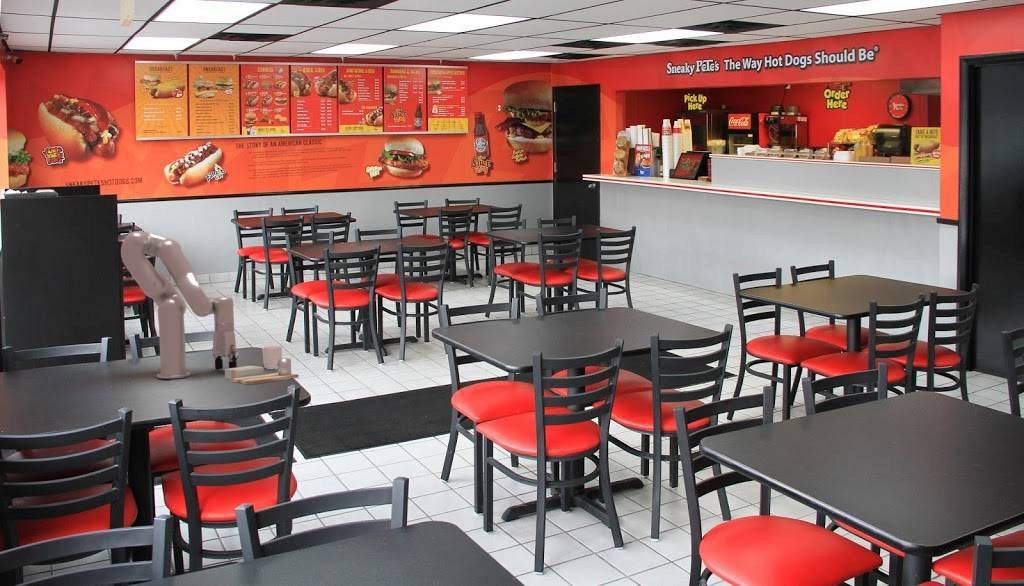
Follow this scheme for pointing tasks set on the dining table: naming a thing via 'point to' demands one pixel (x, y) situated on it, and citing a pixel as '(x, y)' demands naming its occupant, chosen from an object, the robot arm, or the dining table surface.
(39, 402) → the dining table surface
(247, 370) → the carton
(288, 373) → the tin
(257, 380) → the wooden board
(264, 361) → the pink cup
